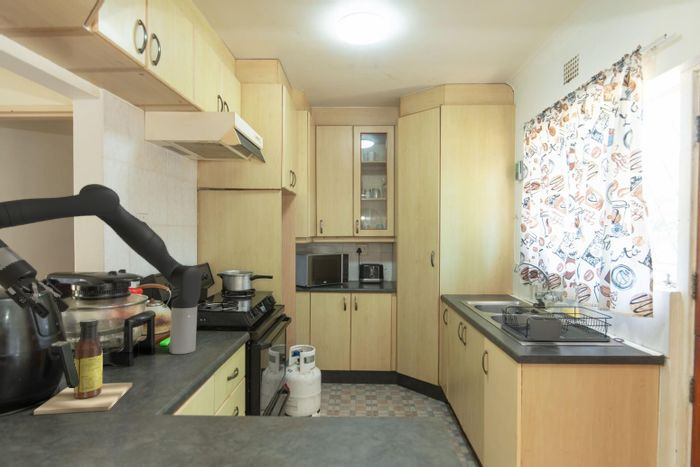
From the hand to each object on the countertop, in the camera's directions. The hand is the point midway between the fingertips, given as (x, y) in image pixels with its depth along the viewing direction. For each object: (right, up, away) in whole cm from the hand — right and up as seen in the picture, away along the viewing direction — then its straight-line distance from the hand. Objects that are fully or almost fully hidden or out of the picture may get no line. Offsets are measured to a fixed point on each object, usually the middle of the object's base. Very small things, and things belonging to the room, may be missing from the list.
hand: (57, 312), depth 96 cm
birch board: (+8, -23, +1) cm, 24 cm away
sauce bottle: (+7, -22, +1) cm, 23 cm away
